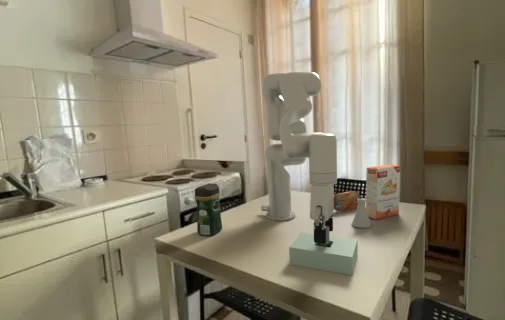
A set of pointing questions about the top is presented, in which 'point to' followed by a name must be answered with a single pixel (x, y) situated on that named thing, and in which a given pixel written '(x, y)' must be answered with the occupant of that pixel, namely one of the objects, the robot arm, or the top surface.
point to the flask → (361, 216)
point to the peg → (326, 237)
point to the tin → (346, 201)
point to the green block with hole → (324, 254)
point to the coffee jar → (208, 209)
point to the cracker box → (382, 191)
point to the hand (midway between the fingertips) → (323, 236)
